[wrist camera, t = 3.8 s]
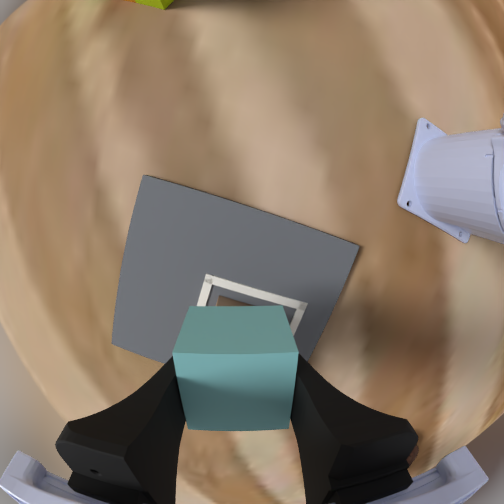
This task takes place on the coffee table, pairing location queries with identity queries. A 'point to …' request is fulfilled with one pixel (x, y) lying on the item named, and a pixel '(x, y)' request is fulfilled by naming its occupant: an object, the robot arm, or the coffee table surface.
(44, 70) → the coffee table surface
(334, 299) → the grey flat plate
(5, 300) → the coffee table surface
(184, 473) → the coffee table surface
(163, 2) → the puzzle toy
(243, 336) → the teal block
